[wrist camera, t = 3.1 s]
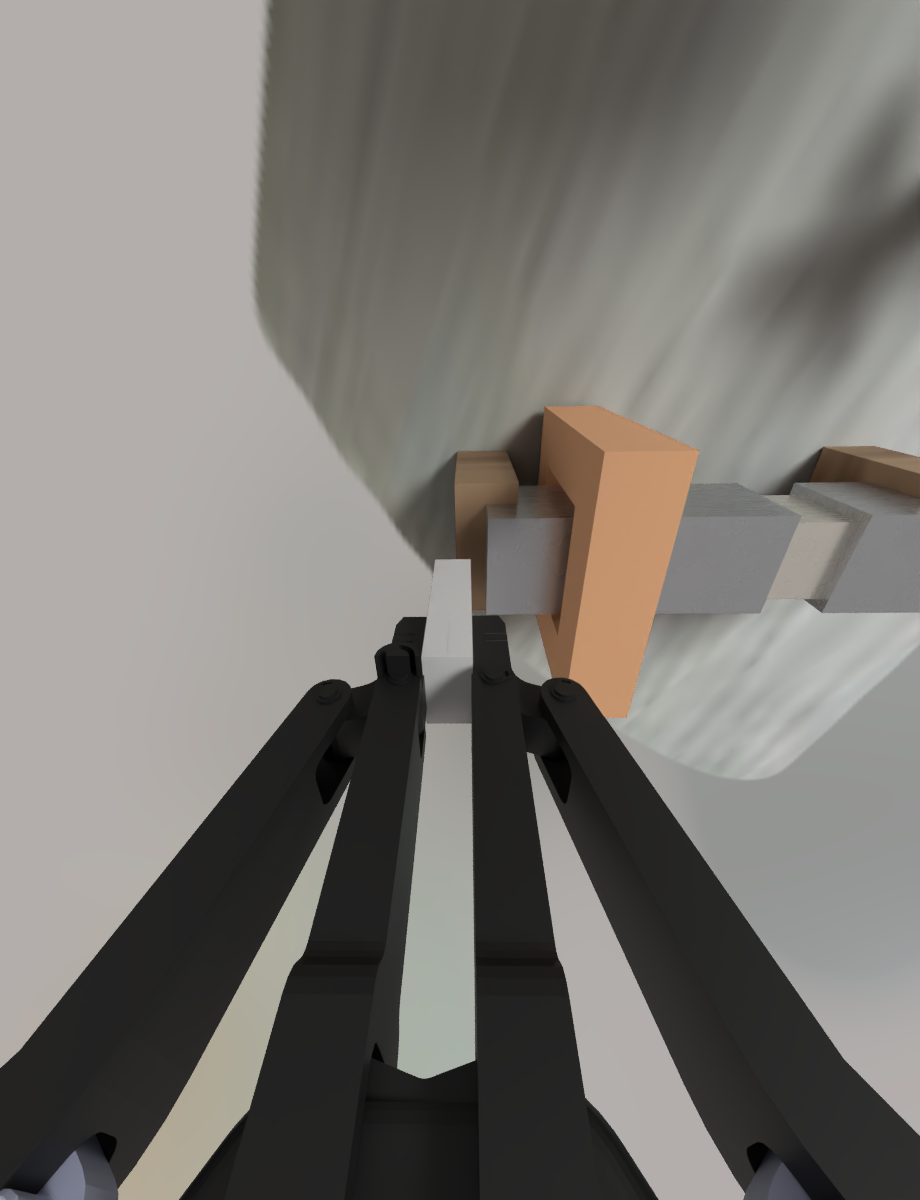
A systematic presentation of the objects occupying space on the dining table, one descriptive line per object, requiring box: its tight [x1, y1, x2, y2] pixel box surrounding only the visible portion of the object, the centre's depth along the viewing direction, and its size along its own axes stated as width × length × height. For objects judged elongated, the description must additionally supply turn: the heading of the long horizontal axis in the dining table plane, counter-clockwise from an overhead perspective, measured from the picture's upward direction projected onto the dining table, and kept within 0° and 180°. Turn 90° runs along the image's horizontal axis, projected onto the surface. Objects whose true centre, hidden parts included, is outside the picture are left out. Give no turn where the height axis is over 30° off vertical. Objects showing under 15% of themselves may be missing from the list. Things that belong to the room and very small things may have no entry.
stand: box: [455, 446, 920, 610], centre depth 24 cm, size 7×25×7 cm, turn 91°
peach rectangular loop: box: [536, 406, 699, 718], centre depth 22 cm, size 12×3×12 cm, turn 1°
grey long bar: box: [485, 482, 920, 615], centre depth 21 cm, size 5×22×5 cm, turn 91°
